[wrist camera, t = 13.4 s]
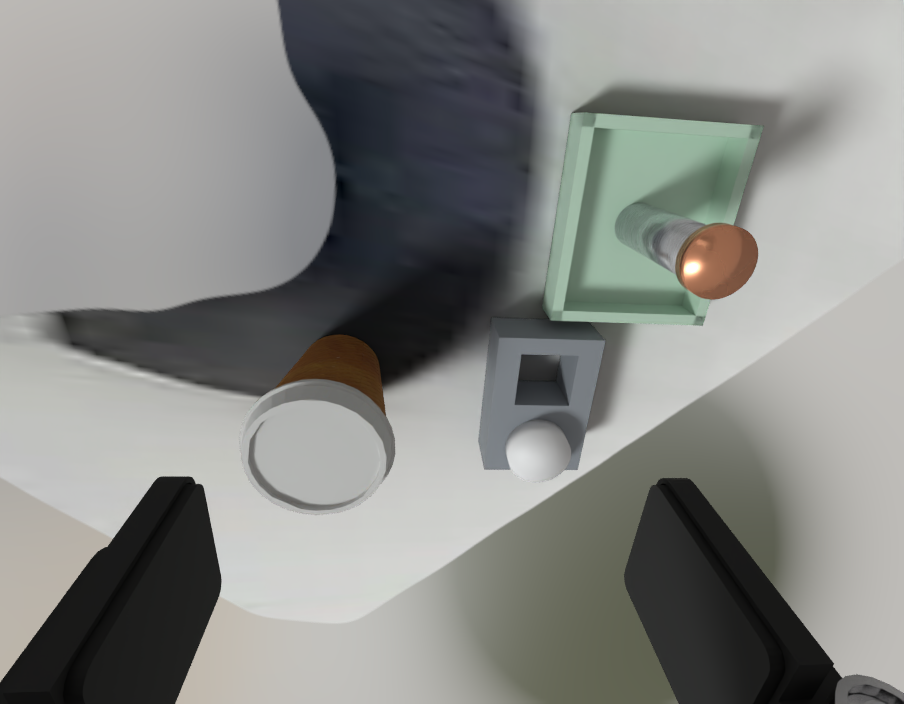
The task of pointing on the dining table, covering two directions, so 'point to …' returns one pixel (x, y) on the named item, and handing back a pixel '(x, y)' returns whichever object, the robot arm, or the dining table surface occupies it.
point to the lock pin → (690, 248)
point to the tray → (631, 181)
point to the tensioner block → (538, 397)
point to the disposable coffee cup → (321, 431)
